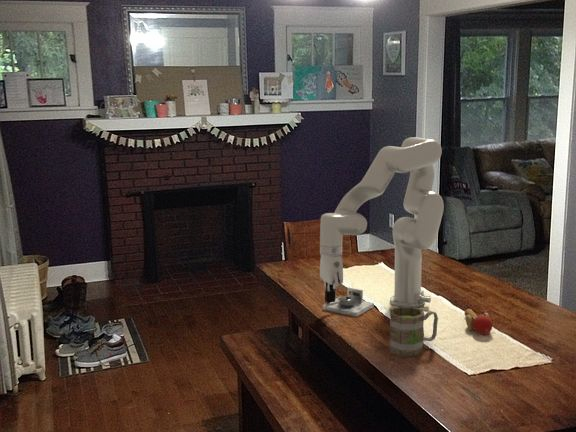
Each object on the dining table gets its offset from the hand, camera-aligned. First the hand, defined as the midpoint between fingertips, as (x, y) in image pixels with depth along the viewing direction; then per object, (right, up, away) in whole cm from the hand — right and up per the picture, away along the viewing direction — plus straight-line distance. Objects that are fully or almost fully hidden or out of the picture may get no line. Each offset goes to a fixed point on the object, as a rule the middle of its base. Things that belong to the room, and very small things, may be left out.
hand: (329, 301), depth 225 cm
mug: (+24, -11, -27) cm, 37 cm away
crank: (+4, -2, +7) cm, 8 cm away
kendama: (+47, -7, -10) cm, 49 cm away
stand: (+7, -4, +9) cm, 12 cm away
